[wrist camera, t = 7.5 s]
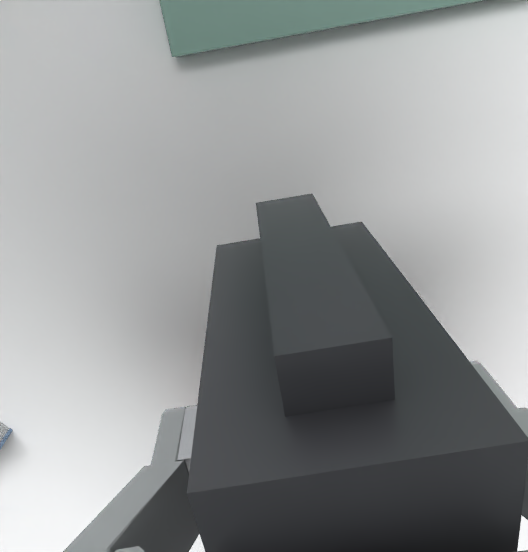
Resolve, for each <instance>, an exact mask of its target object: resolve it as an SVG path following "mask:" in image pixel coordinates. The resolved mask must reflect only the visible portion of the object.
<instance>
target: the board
mask: <svg viewBox="0 0 528 552" xmlns="http://www.w3.org/2000/svg"><path fill="white" fill-rule="evenodd" d="M479 1H485V0H160V5H161V9H162V14H163V18H164V22H165V27H166V31H167V36H168V40H169V45H170V49H171V54H172V57H180V56H185V55H191V54H196V53H202V52H207V51H212V50H218V49H223V48H229V47H234V46H240V45H245V44H250V43H256V42H261V41H267V40H272V39H278V38H283V37H289V36H294V35H299V34H305V33H310V32H316V31H321V30H327V29H332V28H338V27H343V26H348V25H354V24H359V23H365V22H370V21H376V20H381V19H387V18H392V17H397V16H403V15H408V14H414V13H419V12H425V11H430V10H436V9H441V8H446V7H452V6H457V5H463V4H468V3H474V2H479Z"/></svg>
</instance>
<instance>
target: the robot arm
mask: <svg viewBox="0 0 528 552" xmlns="http://www.w3.org/2000/svg"><path fill="white" fill-rule="evenodd" d="M470 363H471V364H472V366H473V367H474V368H475V369H476V371H477V372H478V373H479V375H480V376H481V377H482V379H483V380H484V381H485V382H486V384H487V385H488V386H489V388H490V389H491V390H492V392H493V393H494V394H495V395H496V397H497V398H498V399H499V401H500V402H501V403H502V404H503V406H504V407H505V408H506V410H507V411H508V412H509V414H510V415H511V416H512V417H513V419H514V420H515V421H516V423H517V424H518V425H519V427H520V428H521V429H522V430H523V432H524V433H525V434H526V436H527V437H528V409H527V408H517V407H516V406H515V404H514V403H513V402H512V401H511V400H510V398H509V397H508V396H507V395H506V394H505V392H504V391H503V390H502V389H501V387H500V386H499V385H498V384H497V383H496V381H495V380H494V379H493V378H492V376H491V375H490V374H489V373H488V372H487V370H486V369H485V368H484V367H483V366H482V364H481V363H480V362H478V361H471V362H470ZM196 412H197V405H193V406H187V407H181V408H173V409H166V410H165V411H164V412H163V414H162V417H161V421H160V426H159V430H158V435H157V439H156V444H155V448H154V453H153V457H152V462H151V465H150V466H144V467H143V468H142V469H141V470H140V471H139V472H138V473H137V474H136V476H135V477H134V478H133V479H132V480H131V481H130V482H129V483H128V484H127V485H126V486H125V487H124V488H123V489H122V490H121V491H120V492H119V493H118V494H117V496H116V497H115V498H114V499H113V500H112V501H111V502H110V503H109V504H108V505H107V506H106V507H105V508H104V509H103V510H102V511H101V512H100V513H99V514H98V516H97V517H96V518H95V519H94V520H93V521H92V522H91V523H90V524H89V525H88V526H87V527H86V528H85V529H84V530H83V531H82V532H81V533H80V534H79V536H78V537H77V538H76V539H75V540H74V541H73V542H72V543H71V544H70V545H69V546H68V547H67V548H66V549H65V550H64V551H63V552H189V550H190V548H191V547H192V545H193V543H194V542H195V540H196V538H197V537H198V535H199V530H198V527H197V524H196V521H195V518H194V514H193V511H192V508H191V505H190V502H189V499H188V496H187V486H188V478H189V470H190V462H191V453H192V445H193V437H194V429H195V421H196ZM521 515H522V516H523V517H525V518H526V519H527V520H528V464H527V473H526V481H525V489H524V497H523V506H522V514H521ZM518 552H528V550H525V551H518Z"/></svg>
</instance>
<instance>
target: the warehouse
mask: <svg viewBox="0 0 528 552" xmlns="http://www.w3.org/2000/svg"><path fill="white" fill-rule="evenodd" d="M11 432H12V429H11V428H10V429H9V428H7V427H6V426H5V425H4V424H2V423H1V422H0V449H1V448H2V446H3V444H4V443H5V441H6V440H7V438H8V437H9V435H10V434H11Z"/></svg>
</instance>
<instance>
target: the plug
mask: <svg viewBox="0 0 528 552" xmlns="http://www.w3.org/2000/svg"><path fill="white" fill-rule="evenodd" d="M256 207H257V216H258V224H259V232H260V239H254V240H248V241H242V242H236V243H230V244H223V245H217V249H216V257H215V265H214V273H213V281H212V290H211V298H210V306H209V314H208V322H207V331H206V339H205V347H204V355H203V363H202V371H201V380H200V388H199V396H198V404H197V412H196V421H195V429H194V437H193V445H192V453H191V462H190V470H189V478H188V486H187V496H188V499H189V502H190V505H191V508H192V511H193V514H194V518H195V521H196V524H197V527H198V530H199V533H200V536H201V539H202V542H203V545H204V548H205V551H206V552H517V547H518V539H519V531H520V522H521V514H522V506H523V497H524V489H525V481H526V473H527V464H528V437H527V436H526V434H525V433H524V432H523V430H522V429H521V428H520V427H519V425H518V424H517V423H516V421H515V420H514V419H513V417H512V416H511V415H510V414H509V412H508V411H507V410H506V408H505V407H504V406H503V404H502V403H501V402H500V401H499V399H498V398H497V397H496V395H495V394H494V393H493V392H492V390H491V389H490V388H489V386H488V385H487V384H486V382H485V381H484V380H483V379H482V377H481V376H480V375H479V373H478V372H477V371H476V369H475V368H474V367H473V366H472V364H471V363H470V362H469V360H468V359H467V358H466V356H465V355H464V354H463V353H462V351H461V350H460V349H459V347H458V346H457V345H456V343H455V342H454V341H453V340H452V338H451V337H450V336H449V334H448V333H447V332H446V331H445V329H444V328H443V327H442V325H441V324H440V323H439V321H438V320H437V319H436V318H435V316H434V315H433V314H432V312H431V311H430V310H429V308H428V307H427V306H426V305H425V303H424V302H423V301H422V299H421V298H420V297H419V295H418V294H417V293H416V292H415V290H414V289H413V288H412V286H411V285H410V284H409V283H408V281H407V280H406V279H405V277H404V276H403V275H402V273H401V272H400V271H399V270H398V268H397V267H396V266H395V264H394V263H393V262H392V260H391V259H390V258H389V257H388V255H387V254H386V253H385V251H384V250H383V249H382V247H381V246H380V245H379V244H378V242H377V241H376V240H375V238H374V237H373V236H372V234H371V233H370V232H369V231H368V229H367V228H366V227H365V225H364V224H363V223H362V222H357V223H351V224H345V225H339V226H333V227H330V225H329V223H328V221H327V219H326V218H325V216H324V214H323V212H322V210H321V209H320V207H319V205H318V203H317V201H316V200H315V198H314V196H313V194H307V195H301V196H295V197H289V198H283V199H277V200H271V201H265V202H259V203H256Z"/></svg>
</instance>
